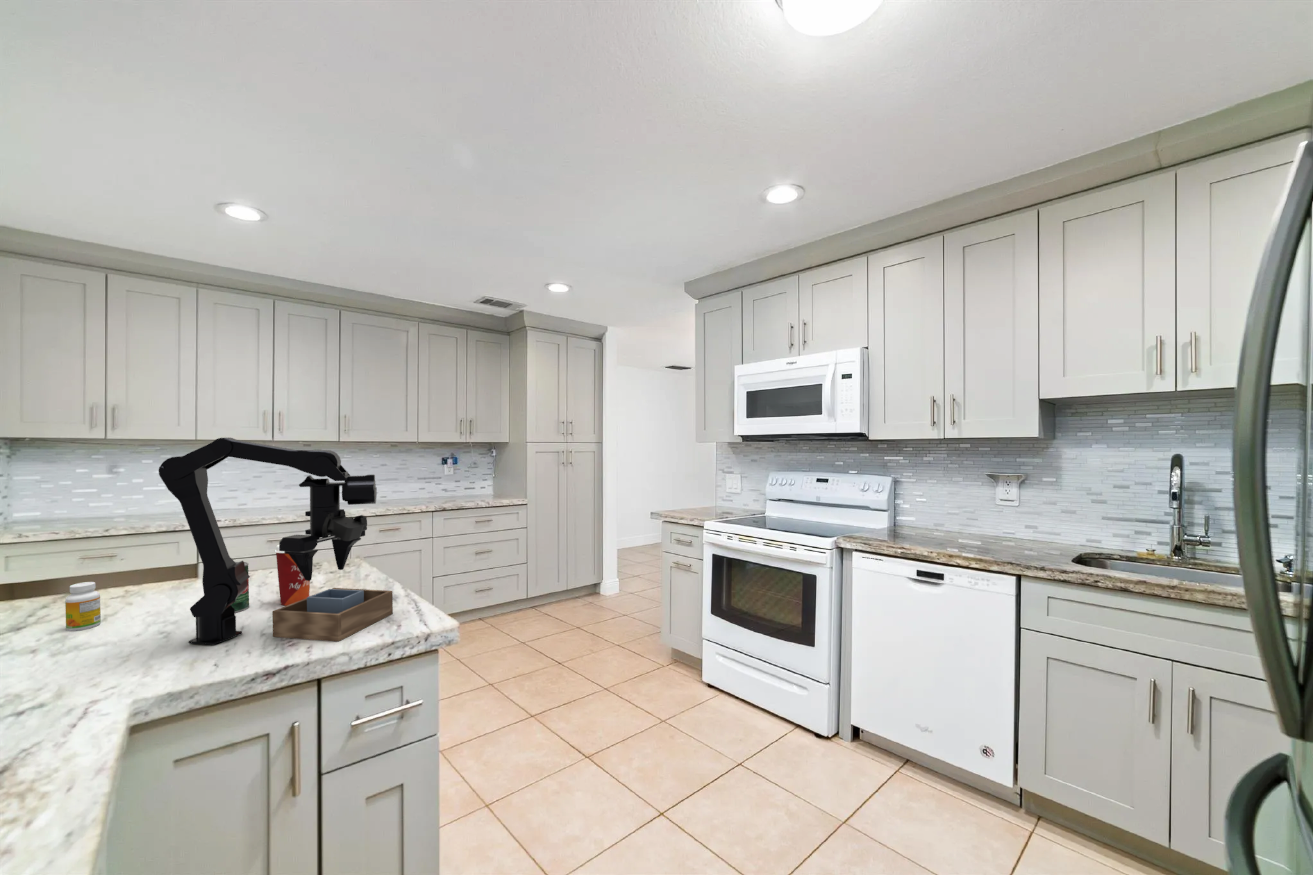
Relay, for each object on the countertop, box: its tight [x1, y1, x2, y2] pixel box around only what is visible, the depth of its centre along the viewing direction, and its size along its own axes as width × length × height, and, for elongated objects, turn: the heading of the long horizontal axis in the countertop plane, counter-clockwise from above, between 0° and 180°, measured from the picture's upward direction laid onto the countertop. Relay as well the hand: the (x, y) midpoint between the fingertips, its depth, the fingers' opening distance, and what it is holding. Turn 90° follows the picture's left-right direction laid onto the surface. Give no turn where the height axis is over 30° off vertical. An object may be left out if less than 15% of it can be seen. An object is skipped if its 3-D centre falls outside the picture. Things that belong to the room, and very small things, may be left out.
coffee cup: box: [274, 544, 311, 607], centre depth 138 cm, size 8×8×15 cm
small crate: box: [307, 588, 364, 614], centre depth 121 cm, size 9×6×6 cm
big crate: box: [271, 587, 394, 642], centre depth 121 cm, size 16×17×6 cm
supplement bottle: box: [64, 581, 102, 632], centre depth 121 cm, size 5×5×10 cm
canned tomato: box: [230, 561, 250, 614], centre depth 132 cm, size 8×8×11 cm
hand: (325, 574), depth 121 cm, fingers open, 9 cm apart
